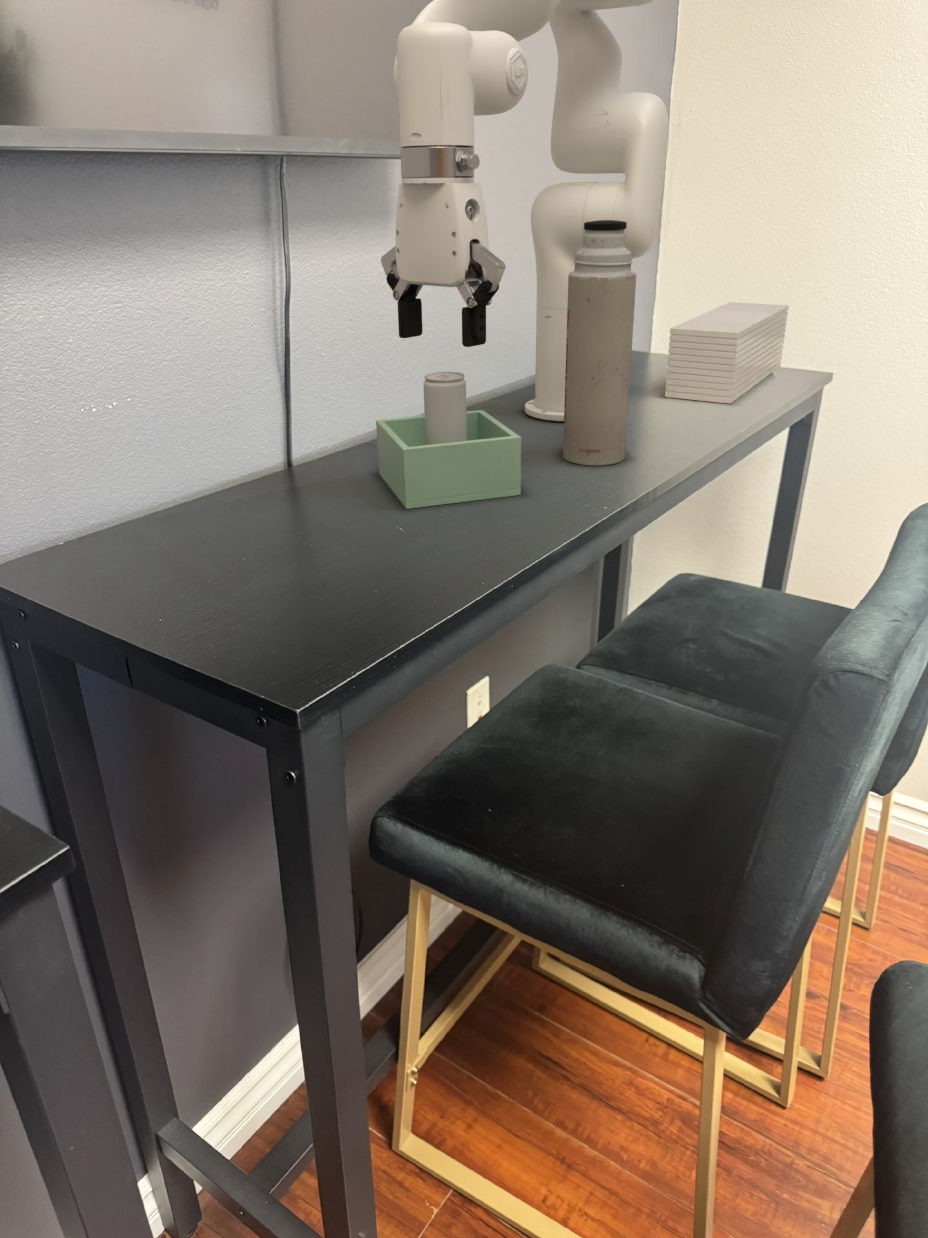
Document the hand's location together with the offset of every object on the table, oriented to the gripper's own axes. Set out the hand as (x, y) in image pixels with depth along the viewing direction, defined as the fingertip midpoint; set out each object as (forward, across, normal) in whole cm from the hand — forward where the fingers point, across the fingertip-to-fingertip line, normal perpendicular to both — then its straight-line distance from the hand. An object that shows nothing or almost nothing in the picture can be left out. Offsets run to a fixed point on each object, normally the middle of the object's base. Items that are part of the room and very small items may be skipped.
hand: (441, 340), depth 99 cm
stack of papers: (+16, +2, -72) cm, 74 cm away
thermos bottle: (+17, -7, -21) cm, 27 cm away
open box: (+17, 0, -1) cm, 17 cm away
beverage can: (+16, 0, -1) cm, 16 cm away
